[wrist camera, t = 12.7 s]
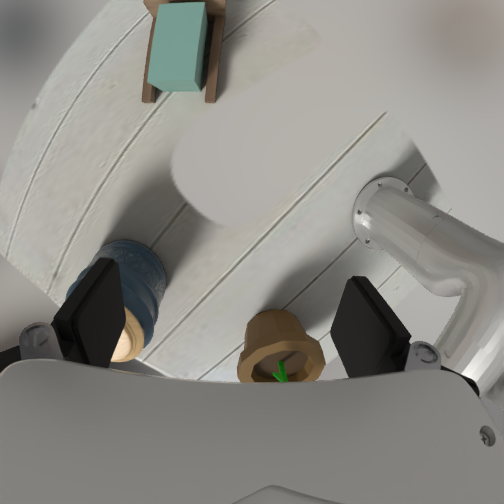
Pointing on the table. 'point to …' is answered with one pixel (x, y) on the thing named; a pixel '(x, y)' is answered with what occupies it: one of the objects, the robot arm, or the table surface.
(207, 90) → the book slot
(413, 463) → the robot arm
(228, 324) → the table surface
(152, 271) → the canister
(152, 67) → the teal rectangular block
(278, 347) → the flowerpot
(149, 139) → the table surface
